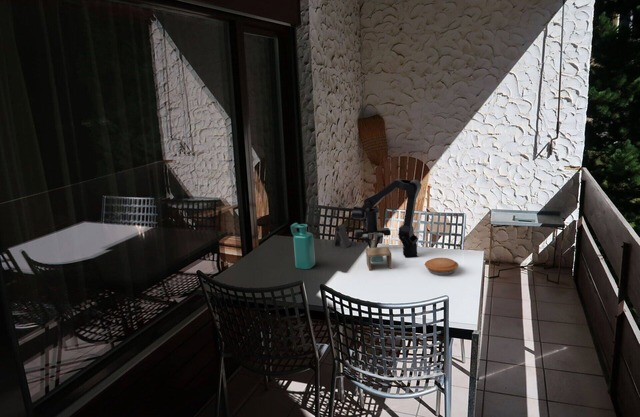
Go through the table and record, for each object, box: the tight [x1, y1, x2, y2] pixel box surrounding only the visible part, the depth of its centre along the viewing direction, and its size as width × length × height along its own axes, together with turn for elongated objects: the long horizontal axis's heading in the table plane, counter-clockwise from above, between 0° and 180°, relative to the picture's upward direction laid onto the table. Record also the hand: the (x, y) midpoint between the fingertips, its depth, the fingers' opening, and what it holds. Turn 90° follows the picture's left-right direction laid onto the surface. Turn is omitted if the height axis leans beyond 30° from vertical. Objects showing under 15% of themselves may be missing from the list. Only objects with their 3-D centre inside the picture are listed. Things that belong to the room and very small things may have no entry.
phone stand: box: [331, 223, 352, 249], centre depth 289 cm, size 9×6×12 cm, turn 55°
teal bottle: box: [289, 222, 316, 270], centre depth 260 cm, size 10×8×22 cm
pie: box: [423, 257, 459, 276], centre depth 244 cm, size 15×16×5 cm
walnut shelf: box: [365, 246, 393, 271], centre depth 255 cm, size 11×10×8 cm
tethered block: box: [369, 239, 384, 263], centre depth 270 cm, size 6×18×6 cm, turn 2°
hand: (373, 247), depth 277 cm, fingers closed on tethered block, 3 cm apart
